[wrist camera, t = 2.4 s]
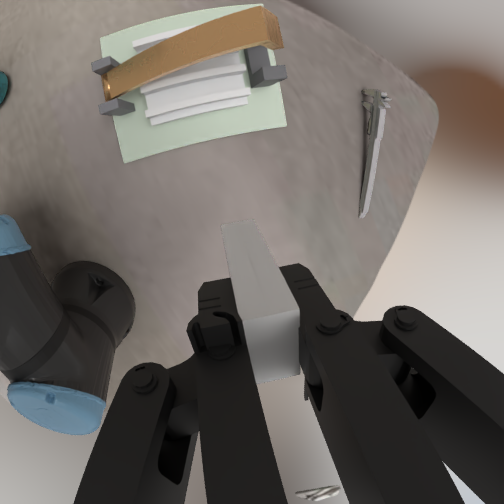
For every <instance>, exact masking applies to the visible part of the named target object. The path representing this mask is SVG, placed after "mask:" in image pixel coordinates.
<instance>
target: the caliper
mask: <svg viewBox="0 0 504 504" xmlns="http://www.w3.org/2000/svg"><path fill="white" fill-rule="evenodd" d="M362 93H363V94H366V95H368V96H371V97H373V98H374V100H373V104H372V103H370V102H364V101H362V105H363V106H364V107H365V108H366V109H367V110H368V111H369V112H370V113H371V116H370V119H369V122H368V130H367V134H369V135H370V138H369V146H368V154H367V161H366V168H365V174H364V181H363V186H362V192H361V198H360V207H359V210H360V213H359V218H364V217H365V215H366V213H368V210H369V205H370V200H371V195H372V189H373V184H374V178H375V172H376V166H377V160H378V153H379V146H380V139H382V137H383V130H384V122H385V114H386V109H384V107H387V108H391V107H390V105H389V104H388V103H387V102H385V101H390V100H391V99H390V98H387V93H385V92H382V91H380V90H376V89H368V90H363V91H362Z"/></svg>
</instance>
